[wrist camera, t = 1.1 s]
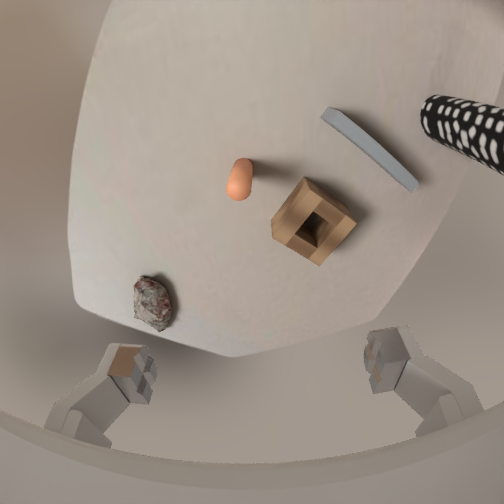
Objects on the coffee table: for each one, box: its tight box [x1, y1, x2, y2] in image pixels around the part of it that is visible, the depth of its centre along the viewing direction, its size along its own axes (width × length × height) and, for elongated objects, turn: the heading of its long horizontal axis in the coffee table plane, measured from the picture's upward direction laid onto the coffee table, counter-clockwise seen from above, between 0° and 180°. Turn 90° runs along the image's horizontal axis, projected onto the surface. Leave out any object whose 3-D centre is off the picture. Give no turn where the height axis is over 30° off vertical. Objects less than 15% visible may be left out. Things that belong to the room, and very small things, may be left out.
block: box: [271, 177, 357, 266], centre depth 44 cm, size 9×9×6 cm
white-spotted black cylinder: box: [420, 95, 504, 175], centre depth 28 cm, size 8×8×20 cm
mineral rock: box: [133, 276, 172, 332], centre depth 56 cm, size 15×8×4 cm, turn 164°
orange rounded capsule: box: [226, 158, 253, 201], centre depth 39 cm, size 3×3×10 cm
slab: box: [320, 108, 419, 193], centre depth 37 cm, size 2×16×6 cm, turn 57°
